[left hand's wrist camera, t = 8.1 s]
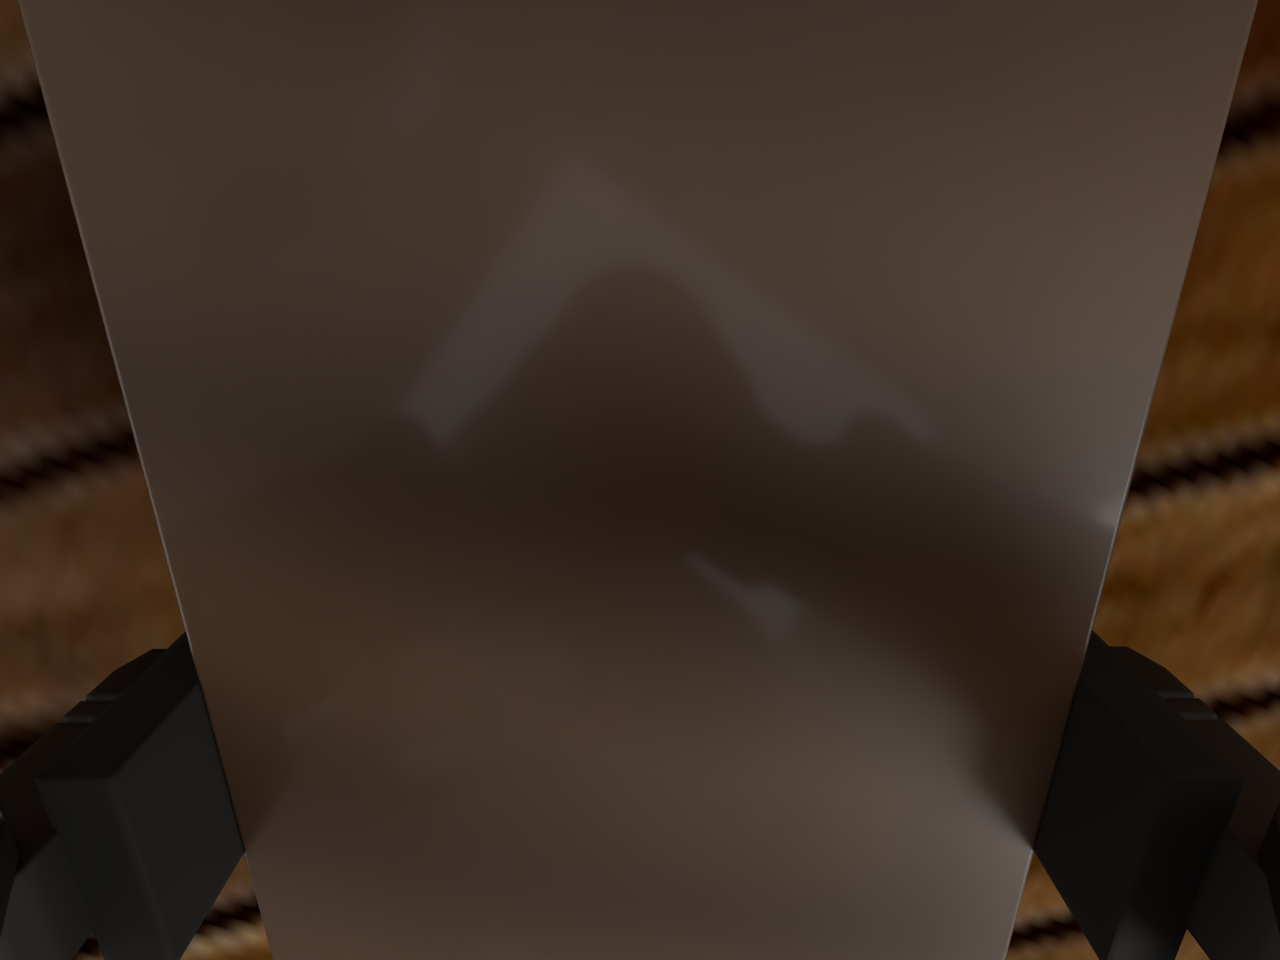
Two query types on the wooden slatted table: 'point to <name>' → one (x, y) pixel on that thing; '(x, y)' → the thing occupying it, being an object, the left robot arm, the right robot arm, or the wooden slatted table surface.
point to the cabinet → (638, 438)
